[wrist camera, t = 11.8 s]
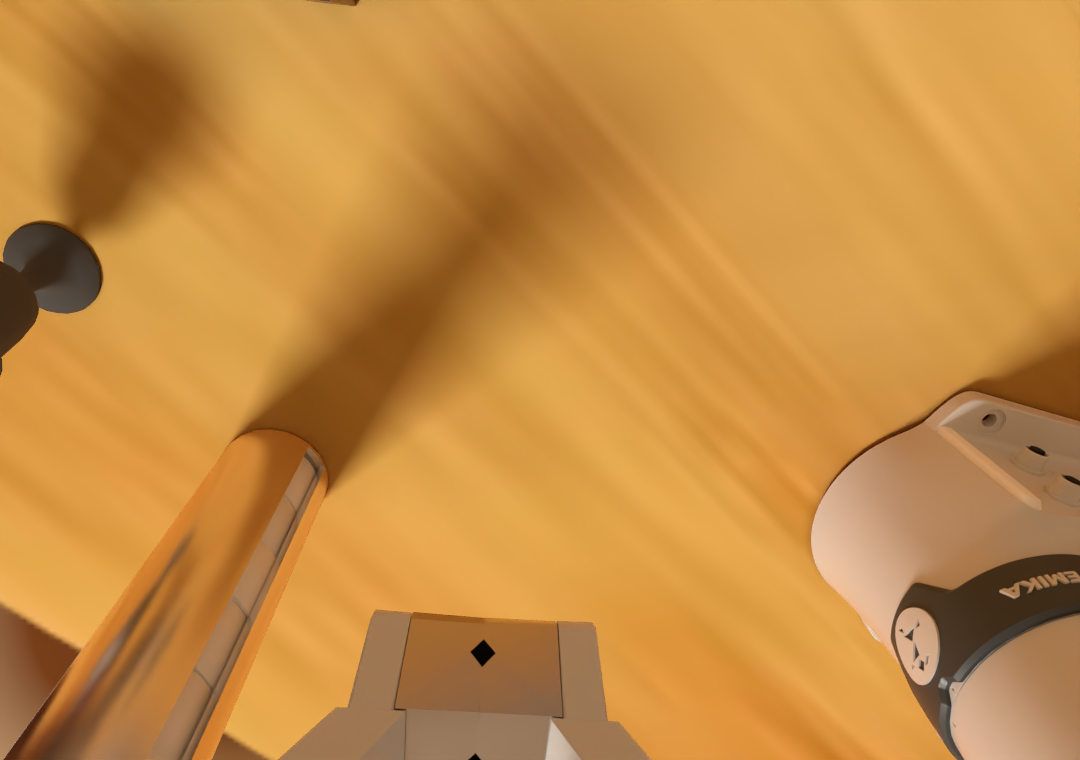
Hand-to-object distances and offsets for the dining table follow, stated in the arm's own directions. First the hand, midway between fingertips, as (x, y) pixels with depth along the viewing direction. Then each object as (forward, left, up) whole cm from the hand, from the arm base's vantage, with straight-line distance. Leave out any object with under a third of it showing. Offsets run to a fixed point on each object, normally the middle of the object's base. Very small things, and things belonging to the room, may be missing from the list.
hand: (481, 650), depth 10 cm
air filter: (+13, +18, -31) cm, 38 cm away
